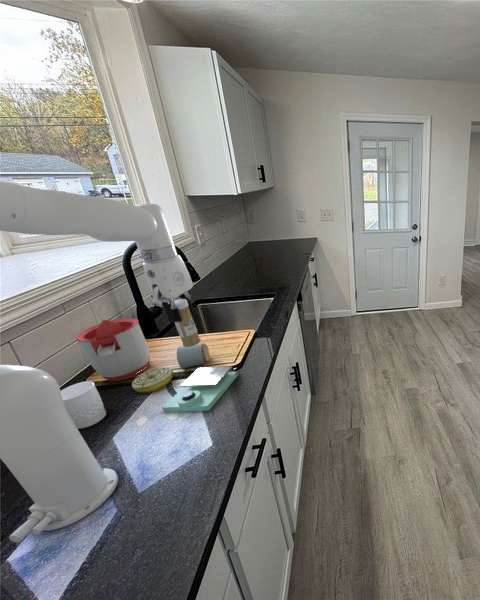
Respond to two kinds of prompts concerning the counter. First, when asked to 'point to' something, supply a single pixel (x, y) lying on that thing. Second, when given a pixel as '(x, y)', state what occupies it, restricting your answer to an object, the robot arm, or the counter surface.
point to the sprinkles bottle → (186, 324)
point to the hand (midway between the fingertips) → (182, 316)
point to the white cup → (83, 404)
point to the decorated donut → (152, 380)
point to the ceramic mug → (192, 355)
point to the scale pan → (206, 377)
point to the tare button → (188, 395)
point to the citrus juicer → (116, 348)
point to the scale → (200, 396)
